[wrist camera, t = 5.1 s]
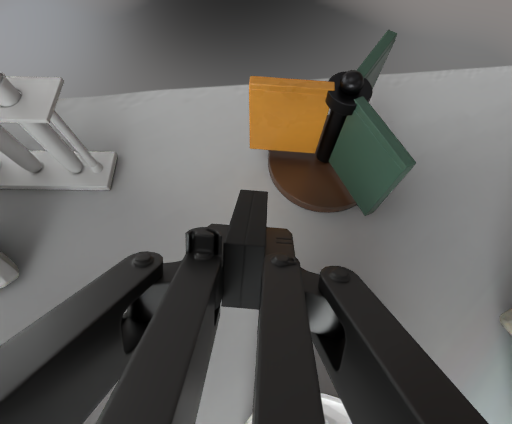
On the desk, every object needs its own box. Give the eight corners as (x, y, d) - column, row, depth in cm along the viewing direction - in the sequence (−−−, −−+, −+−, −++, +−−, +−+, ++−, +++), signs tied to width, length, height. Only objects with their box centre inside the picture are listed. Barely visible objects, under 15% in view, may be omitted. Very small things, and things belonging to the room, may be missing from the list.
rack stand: (391, 203, 33) (396, 198, 32) (280, 221, 32) (281, 216, 31) (356, 114, 38) (359, 107, 36) (259, 128, 37) (259, 121, 35)
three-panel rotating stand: (403, 213, 31) (476, 147, 21) (266, 235, 30) (273, 177, 20) (360, 106, 36) (401, 13, 26) (243, 121, 35) (240, 31, 25)
